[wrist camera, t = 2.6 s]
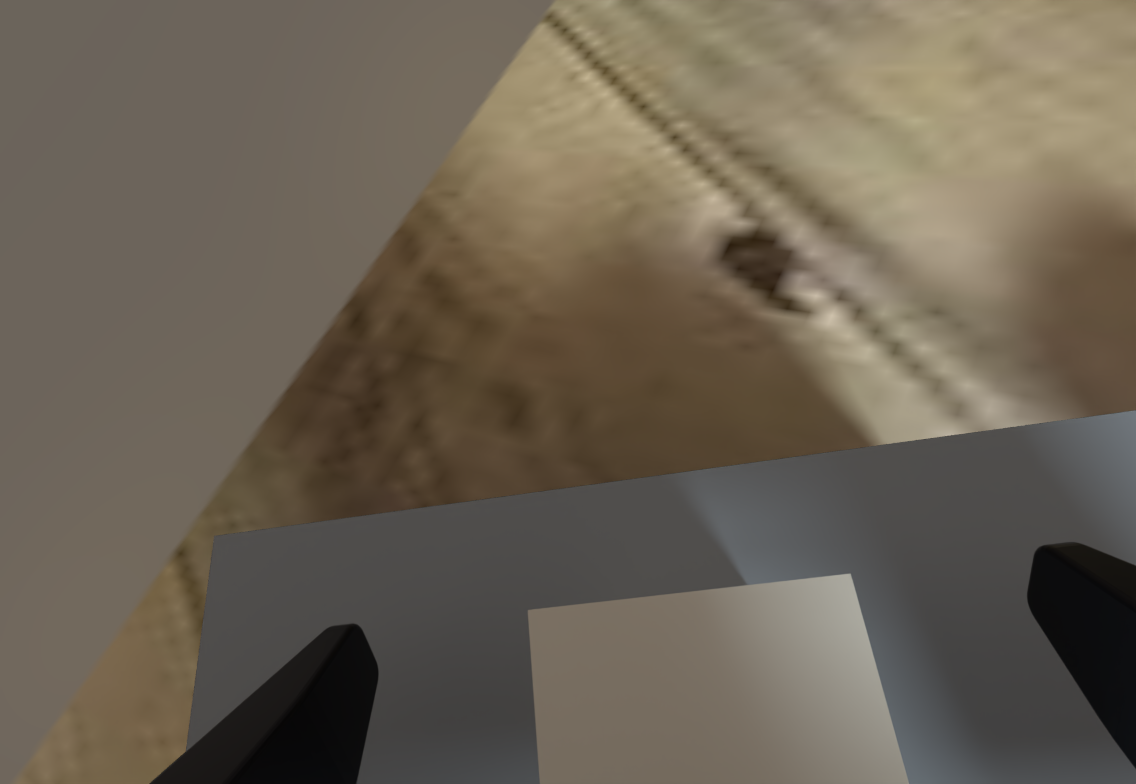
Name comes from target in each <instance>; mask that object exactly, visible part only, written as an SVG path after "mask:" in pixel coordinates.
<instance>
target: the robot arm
mask: <svg viewBox="0 0 1136 784" xmlns="http://www.w3.org/2000/svg"><path fill="white" fill-rule="evenodd" d="M1027 602H1028V605H1029V608H1030V611H1031V613H1032V615H1033V617H1034V618H1035V620H1036V621H1037V623H1038V624H1039V626H1040V628H1041V629H1042V631H1043V632H1044V634H1045V635H1046V637H1047V638H1048V640H1049V642H1050V643H1051V645H1052V646H1053V648H1054V649H1055V651H1056V652H1057V654H1058V655H1059V657H1060V659H1061V660H1062V662H1063V663H1064V665H1065V666H1066V668H1067V669H1068V671H1069V673H1070V674H1071V676H1072V677H1073V679H1074V680H1075V682H1076V683H1077V685H1078V687H1079V688H1080V690H1081V691H1082V693H1083V694H1084V696H1085V697H1086V699H1087V701H1088V702H1089V704H1090V705H1091V707H1092V708H1093V710H1094V711H1095V713H1096V715H1097V716H1098V718H1099V719H1100V721H1101V722H1102V723H1103V725H1104V726H1105V728H1106V729H1107V731H1108V732H1109V734H1110V735H1111V737H1112V738H1113V739H1114V741H1115V742H1116V743H1117V745H1118V746H1119V748H1120V749H1121V750H1122V752H1123V753H1124V754H1125V756H1126V757H1127V758H1128V760H1129V761H1130V762H1131V764H1132V765H1133V766H1134V767H1135V769H1136V565H1134V564H1132V563H1129V562H1127V561H1124V560H1122V559H1119V558H1117V557H1114V556H1112V555H1109V554H1107V553H1104V552H1102V551H1099V550H1097V549H1094V548H1092V547H1089V546H1087V545H1084V544H1081V543H1078V542H1064V543H1056V544H1047V545H1042V546H1040V547H1038V548H1037V550H1036V551H1035V552H1034V556H1033V561H1032V567H1031V573H1030V578H1029V584H1028V590H1027ZM378 677H379V670H378V664H377V661H376V659H375V656H374V654H373V652H372V650H371V647H370V645H369V643H368V641H367V638H366V636H365V634H364V632H363V630H362V628H361V627H360V626H359V625H358V624H354V623H351V624H342V625H334V626H330V627H328V628H326V629H325V630H324V631H323V632H322V633H320V634H319V635H318V636H317V637H316V638H315V639H314V640H312V641H311V642H310V643H309V644H308V645H307V646H306V647H304V648H303V649H302V650H301V651H300V652H299V653H298V654H297V655H295V656H294V657H293V658H292V659H291V660H290V661H289V662H287V663H286V664H285V665H284V666H283V667H282V668H281V669H279V670H278V671H277V672H276V673H275V674H274V675H273V676H271V677H270V678H269V679H268V680H267V681H266V682H265V683H263V684H262V685H261V686H260V687H259V688H258V689H257V690H255V691H254V692H253V693H252V694H251V695H250V696H249V697H248V698H246V699H245V700H244V701H243V702H242V703H241V704H240V705H238V706H237V707H236V708H235V709H234V710H233V711H232V712H230V713H229V714H228V715H227V716H226V717H225V718H224V719H222V720H221V721H220V722H219V723H218V724H217V725H216V726H214V727H213V728H212V729H211V730H210V731H209V732H208V733H207V734H205V735H204V736H203V737H202V738H201V739H200V740H199V741H197V742H196V743H195V744H194V745H193V746H192V747H191V748H189V749H188V750H187V751H186V752H185V753H184V754H183V755H181V756H180V757H179V758H178V759H177V760H176V761H175V762H173V763H172V764H171V765H170V766H169V767H168V768H167V769H165V770H164V771H163V772H162V773H161V774H160V775H159V776H157V777H156V778H155V779H154V780H153V781H152V782H151V783H150V784H357V780H358V775H359V770H360V766H361V761H362V756H363V751H364V747H365V742H366V737H367V732H368V727H369V723H370V718H371V713H372V708H373V704H374V699H375V694H376V689H377V684H378Z"/></svg>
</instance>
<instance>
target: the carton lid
mask: <svg viewBox="0 0 1136 784" xmlns="http://www.w3.org/2000/svg"><path fill="white" fill-rule="evenodd" d="M1064 542H1078V543H1081V544H1084V545H1087V546H1089V547H1092V548H1094V549H1097V550H1099V551H1102V552H1104V553H1107V554H1109V555H1112V556H1114V557H1117V558H1119V559H1122V560H1124V561H1127V562H1129V563H1132V564H1134V565H1136V410H1135V411H1127V412H1120V413H1113V414H1105V415H1098V416H1091V417H1083V418H1076V419H1069V420H1061V421H1054V422H1047V423H1039V424H1032V425H1025V426H1017V427H1010V428H1003V429H995V430H988V431H981V432H973V433H966V434H959V435H951V436H944V437H937V438H929V439H922V440H915V441H907V442H900V443H893V444H885V445H878V446H871V447H863V448H856V449H849V450H841V451H834V452H827V453H819V454H812V455H805V456H797V457H790V458H783V459H775V460H768V461H761V462H753V463H746V464H739V465H731V466H724V467H717V468H709V469H702V470H695V471H687V472H680V473H673V474H665V475H658V476H651V477H643V478H636V479H629V480H621V481H614V482H607V483H599V484H592V485H585V486H577V487H570V488H563V489H555V490H548V491H541V492H533V493H526V494H519V495H511V496H504V497H497V498H489V499H482V500H475V501H467V502H460V503H453V504H445V505H438V506H431V507H423V508H416V509H409V510H401V511H394V512H387V513H379V514H372V515H365V516H357V517H350V518H343V519H335V520H328V521H321V522H313V523H306V524H299V525H291V526H284V527H277V528H269V529H262V530H255V531H247V532H240V533H233V534H225V535H218V536H214V542H213V550H212V557H211V565H210V572H209V580H208V587H207V595H206V603H205V610H204V618H203V625H202V633H201V640H200V648H199V656H198V663H197V671H196V678H195V686H194V693H193V701H192V709H191V716H190V724H189V731H188V739H187V746H186V751H187V750H188V749H189V748H191V747H192V746H193V745H194V744H195V743H196V742H197V741H199V740H200V739H201V738H202V737H203V736H204V735H205V734H207V733H208V732H209V731H210V730H211V729H212V728H213V727H214V726H216V725H217V724H218V723H219V722H220V721H221V720H222V719H224V718H225V717H226V716H227V715H228V714H229V713H230V712H232V711H233V710H234V709H235V708H236V707H237V706H238V705H240V704H241V703H242V702H243V701H244V700H245V699H246V698H248V697H249V696H250V695H251V694H252V693H253V692H254V691H255V690H257V689H258V688H259V687H260V686H261V685H262V684H263V683H265V682H266V681H267V680H268V679H269V678H270V677H271V676H273V675H274V674H275V673H276V672H277V671H278V670H279V669H281V668H282V667H283V666H284V665H285V664H286V663H287V662H289V661H290V660H291V659H292V658H293V657H294V656H295V655H297V654H298V653H299V652H300V651H301V650H302V649H303V648H304V647H306V646H307V645H308V644H309V643H310V642H311V641H312V640H314V639H315V638H316V637H317V636H318V635H319V634H320V633H322V632H323V631H324V630H325V629H326V628H328V627H330V626H334V625H342V624H351V623H354V624H358V625H359V626H360V627H361V628H362V630H363V632H364V634H365V636H366V638H367V641H368V643H369V645H370V647H371V650H372V652H373V654H374V656H375V659H376V661H377V664H378V670H379V677H378V684H377V689H376V694H375V699H374V704H373V708H372V713H371V718H370V723H369V727H368V732H367V737H366V742H365V747H364V751H363V756H362V761H361V766H360V770H359V775H358V780H357V784H1136V769H1135V767H1134V766H1133V765H1132V764H1131V762H1130V761H1129V760H1128V758H1127V757H1126V756H1125V754H1124V753H1123V752H1122V750H1121V749H1120V748H1119V746H1118V745H1117V743H1116V742H1115V741H1114V739H1113V738H1112V737H1111V735H1110V734H1109V732H1108V731H1107V729H1106V728H1105V726H1104V725H1103V723H1102V722H1101V721H1100V719H1099V718H1098V716H1097V715H1096V713H1095V711H1094V710H1093V708H1092V707H1091V705H1090V704H1089V702H1088V701H1087V699H1086V697H1085V696H1084V694H1083V693H1082V691H1081V690H1080V688H1079V687H1078V685H1077V683H1076V682H1075V680H1074V679H1073V677H1072V676H1071V674H1070V673H1069V671H1068V669H1067V668H1066V666H1065V665H1064V663H1063V662H1062V660H1061V659H1060V657H1059V655H1058V654H1057V652H1056V651H1055V649H1054V648H1053V646H1052V645H1051V643H1050V642H1049V640H1048V638H1047V637H1046V635H1045V634H1044V632H1043V631H1042V629H1041V628H1040V626H1039V624H1038V623H1037V621H1036V620H1035V618H1034V617H1033V615H1032V613H1031V611H1030V608H1029V605H1028V602H1027V590H1028V584H1029V578H1030V573H1031V567H1032V561H1033V556H1034V552H1035V551H1036V550H1037V548H1038V547H1040V546H1042V545H1047V544H1056V543H1064Z"/></svg>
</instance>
